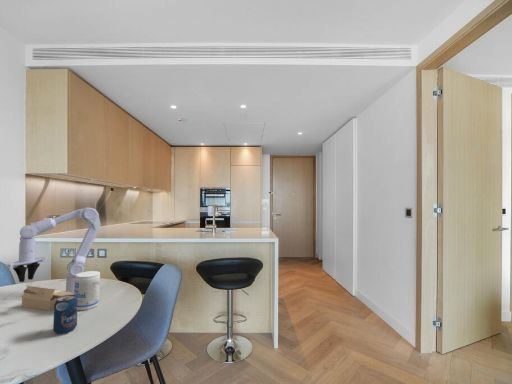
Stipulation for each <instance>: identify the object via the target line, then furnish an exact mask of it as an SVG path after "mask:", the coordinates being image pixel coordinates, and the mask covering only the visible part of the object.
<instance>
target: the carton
mask: <svg viewBox="0 0 512 384" xmlns="http://www.w3.org/2000/svg"><path fill="white" fill-rule="evenodd" d="M65 295H72V292H66V290H65V291H63V290H55V292H54V294H53V296H52V298H51V300H50V301H45V300H38V299H30V298H22V297H21V307H22V308H29V309H36V310H44V311H54V304H55V302H56V301H57V298H59V297H61V296H65Z"/></svg>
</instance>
